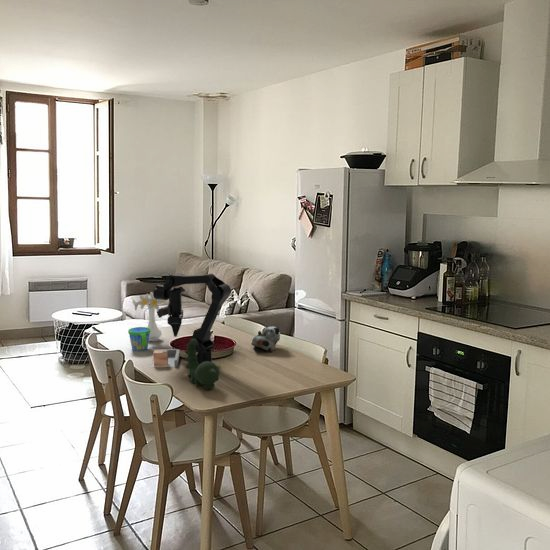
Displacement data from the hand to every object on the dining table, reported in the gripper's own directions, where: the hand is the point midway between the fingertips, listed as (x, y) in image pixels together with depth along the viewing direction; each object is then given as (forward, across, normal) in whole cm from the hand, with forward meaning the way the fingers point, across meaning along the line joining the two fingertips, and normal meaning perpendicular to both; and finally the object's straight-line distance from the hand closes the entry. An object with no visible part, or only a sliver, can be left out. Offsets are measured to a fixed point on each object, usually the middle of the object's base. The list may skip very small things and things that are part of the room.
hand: (176, 334), depth 286 cm
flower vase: (+12, -35, -15) cm, 40 cm away
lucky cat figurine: (+12, -13, +42) cm, 46 cm away
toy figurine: (+12, +37, +13) cm, 41 cm away
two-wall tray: (+12, +4, -5) cm, 14 cm away
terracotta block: (+12, +10, -6) cm, 16 cm away
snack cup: (+12, -18, -19) cm, 29 cm away
